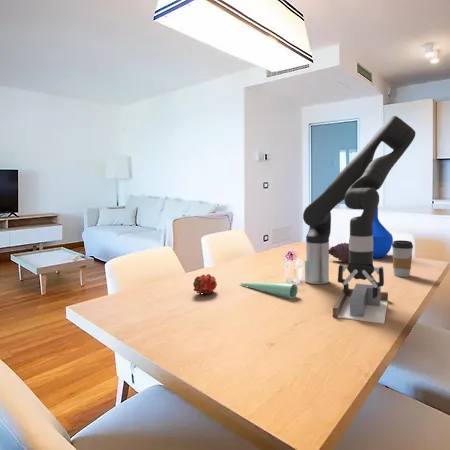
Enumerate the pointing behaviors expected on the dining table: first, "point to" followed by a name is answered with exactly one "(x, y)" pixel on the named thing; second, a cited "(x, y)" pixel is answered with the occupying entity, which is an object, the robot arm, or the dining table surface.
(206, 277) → the dragon fruit
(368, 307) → the mat
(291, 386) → the dining table surface
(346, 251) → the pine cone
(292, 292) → the mint green cone
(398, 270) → the coffee cup
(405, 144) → the robot arm
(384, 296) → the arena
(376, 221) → the vase
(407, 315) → the dining table surface
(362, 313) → the bracket
